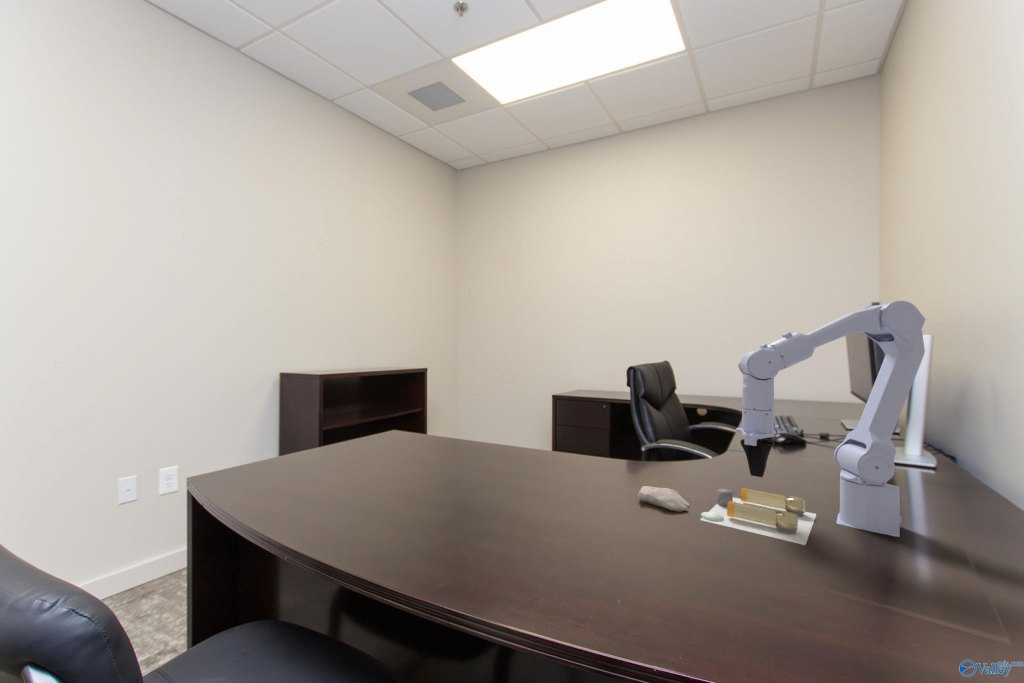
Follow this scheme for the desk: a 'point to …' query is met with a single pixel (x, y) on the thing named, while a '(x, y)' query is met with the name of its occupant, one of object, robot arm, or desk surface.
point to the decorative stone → (663, 498)
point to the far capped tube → (774, 500)
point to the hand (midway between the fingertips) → (757, 475)
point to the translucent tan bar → (763, 516)
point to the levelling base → (720, 517)
